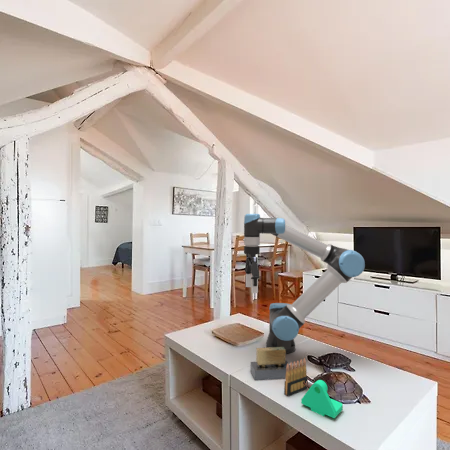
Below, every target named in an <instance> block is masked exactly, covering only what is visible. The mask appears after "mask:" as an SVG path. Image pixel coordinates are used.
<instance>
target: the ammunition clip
mask: <svg viewBox="0 0 450 450" xmlns="http://www.w3.org/2000/svg"><path fill="white" fill-rule="evenodd" d="M289 365H290V370H289ZM306 381H307V382H308V376H307V361H306V358H305V357H304V358H303V359H302V358H300V361H299V360H297V361H296V360H294V361H293V362H292V361H290V363H288V364H287V367H286V379H285V380H284V388H283V389H284V391H283V394H284V395H285V396H286V398H287V397H290V396H294V395H295V394H298V393H301V392H303V391H306V390H309V388H307V387H306V386H305V385H304V384H303V382H305V383H306Z"/></svg>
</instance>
